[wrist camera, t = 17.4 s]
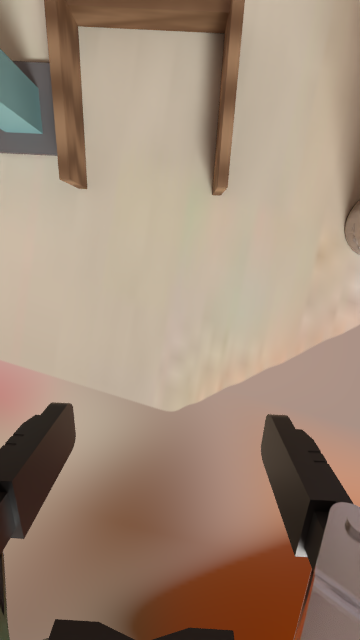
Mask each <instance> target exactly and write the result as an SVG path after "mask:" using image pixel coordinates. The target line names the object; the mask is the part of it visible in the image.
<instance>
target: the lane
mask: <svg viewBox="0 0 360 640" xmlns="http://www.w3.org/2000/svg"><path fill="white" fill-rule="evenodd" d="M244 3H245V0H44V4H45V16H46V27H47V39H48V50H49V62H50V74H51V85H52V97H53V108H54V120H55V132H56V143H57V155H58V166H59V178H60V180H62V181H64V182H66V183H69V184H71V185H73V186H75V187H77V188H79V189H87V175H86V158H85V140H84V123H83V106H82V88H81V71H80V53H79V36H78V26H84V27H105V28H125V29H146V30H166V31H187V32H207V33H225V36H224V49H223V62H222V75H221V88H220V102H219V115H218V128H217V141H216V154H215V167H214V180H213V193H212V195H221V194H222V193H223V192H224V191H225V190H226V188H227V187H228V176H229V165H230V155H231V144H232V133H233V122H234V111H235V100H236V90H237V79H238V68H239V57H240V46H241V35H242V24H243V14H244Z"/></svg>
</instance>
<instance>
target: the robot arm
mask: <svg viewBox="0 0 360 640" xmlns="http://www.w3.org/2000/svg"><path fill="white" fill-rule="evenodd" d="M345 235H346V240H347V242H348V244H349V246H350V247H351V249H352V250H353V251H355V252H356V253H357V254H360V200H359V201H358V202H357V203H356V205H355V206H354V207H353V209H352V210H351V212H350V213H349V216H348V218H347V221H346V226H345ZM75 437H76V433H75V423H74V413H73V406H72V404H70V403H51V404H50V405H49V406H48V407H47V408H46V409H45V410H44V412H43V413H42V414H41V415H35V416H33V417H32V418H30V419H29V420H27V421H26V422H24V423H23V424H22V425H21V426H20V427H19V428H18V430H17V431H16V432H15V433H14V434H13V436H11V437H10V438H9V440H8V441H7V442H6V444H5V445H3V446H2V447H1V449H0V640H10V637H9V630H8V619H7V601H6V584H5V567H4V553H3V549H4V548H5V546H6V544H7V542H8V541H9V539H10V538H21V539H24V538H25V536H26V534H27V532H28V530H29V529H30V527H31V525H32V523H33V521H34V519H35V518H36V516H37V514H38V512H39V510H40V508H41V507H42V505H43V502H44V501H45V499H46V497H47V496H48V493H49V492H50V490H51V488H52V486H53V484H54V482H55V481H56V479H57V477H58V475H59V473H60V472H61V470H62V468H63V466H64V464H65V462H66V461H67V459H68V457H69V455H70V453H71V451H72V449H73V447H74V443H75ZM261 454H262V460H263V463H264V466H265V469H266V472H267V475H268V478H269V481H270V484H271V487H272V490H273V493H274V496H275V499H276V501H277V505H278V508H279V510H280V513H281V516H282V519H283V522H284V525H285V528H286V531H287V534H288V537H289V540H290V543H291V546H292V549H293V552H294V555H295V556H300V557H308V559H309V562H310V564H311V567H312V570H311V573H310V577H309V581H308V585H307V590H306V593H305V597H304V601H303V605H302V609H301V613H300V617H299V621H298V625H297V629H296V633H295V637H294V640H360V507H358V506H356V505H354V504H353V502H352V501H351V499H350V497H349V496H348V495H347V493H346V491H345V490H344V488H343V486H342V485H341V483H340V481H339V480H338V478H337V477H336V475H335V474H334V472H333V470H332V469H331V467H330V466H329V464H327V461H326V459H325V458H324V456H323V454H321V452H320V450H319V448H318V446H317V445H316V443H315V442H314V440H313V439H312V438H311V437H310V436H309V435H307V434H306V433H305V432H304V431H303V430H299V429H295V427H294V426H293V424H292V422H291V420H290V419H289V417H288V416H286V415H269V414H268V415H267V416H266V421H265V427H264V432H263V438H262V444H261ZM44 640H134V639H132V638H130V637H128V636H126V635H124V634H122V633H120V632H118V631H116V630H114V629H112V628H110V627H108V626H106V625H104V624H102V623H100V622H89V621H73V620H58V619H56V620H55V622H54V625H53V628H52V631H51V633H50V636H49V638H47V639H44ZM153 640H234V633H233V631H232V630H217V629H201V628H200V629H199V628H187V629H184V630H181V631H178V632H175V633H172V634H169V635H166V636H163V637H159V638H157V639H153Z"/></svg>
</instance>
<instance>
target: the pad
mask: <svg viewBox="0 0 360 640" xmlns="http://www.w3.org/2000/svg"><path fill="white" fill-rule="evenodd" d="M12 62H13V63H14V64H15V65H16V66H17V67H18V68H19V69H20V70H21V71H22V72H23V73H24V74H25V75H26V76H27V77H28V78H29V79H30V80H31V81H32V82H33V83H34V84H35V85H36V86H37V87H38V91H39V101H40V111H41V121H42V131H43V134H35V133H13V132H5V131H3V130H1V129H0V153H13V154H34V155H55V156H58V155H57V143H56V132H55V120H54V108H53V97H52V85H51V74H50V63H40V62H19V61H12Z"/></svg>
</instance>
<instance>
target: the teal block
mask: <svg viewBox="0 0 360 640" xmlns="http://www.w3.org/2000/svg"><path fill="white" fill-rule="evenodd" d="M0 129H1V130H3V131H5V132H13V133H35V134H43V131H42V121H41V111H40V101H39V91H38V87H37V86H36V85H35V84H34V83H33V82H32V81H31V80H30V79H29V78H28V77H27V76H26V75H25V74H24V73H23V72H22V71H21V70H20V69H19V68H18V67H17V66H16V65H15V64H14V63H13V62H12V60H11V59H10V58H9V57H8V56H7V55H6V54H5V53H4V52H3V51H2V50H1V49H0Z"/></svg>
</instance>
